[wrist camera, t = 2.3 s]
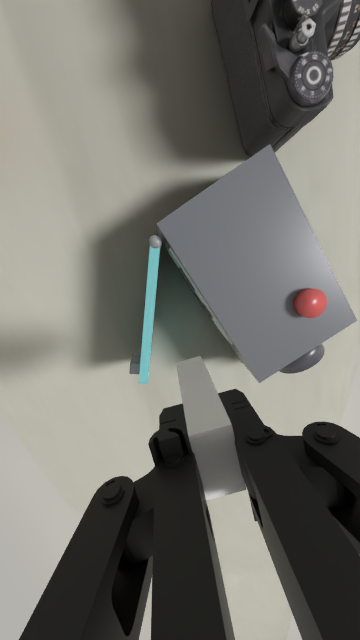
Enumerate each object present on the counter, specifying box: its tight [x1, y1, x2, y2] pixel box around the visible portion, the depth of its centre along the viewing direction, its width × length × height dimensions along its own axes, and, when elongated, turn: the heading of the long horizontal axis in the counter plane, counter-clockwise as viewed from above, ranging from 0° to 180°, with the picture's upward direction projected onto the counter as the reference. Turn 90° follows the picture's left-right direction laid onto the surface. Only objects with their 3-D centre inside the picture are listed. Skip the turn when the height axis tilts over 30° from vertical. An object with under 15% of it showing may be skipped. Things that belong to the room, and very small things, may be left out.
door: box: [130, 235, 162, 384], centre depth 24 cm, size 12×2×6 cm, turn 174°
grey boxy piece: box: [156, 144, 357, 383], centre depth 24 cm, size 18×10×8 cm, turn 34°
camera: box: [212, 0, 360, 157], centre depth 19 cm, size 14×11×10 cm
